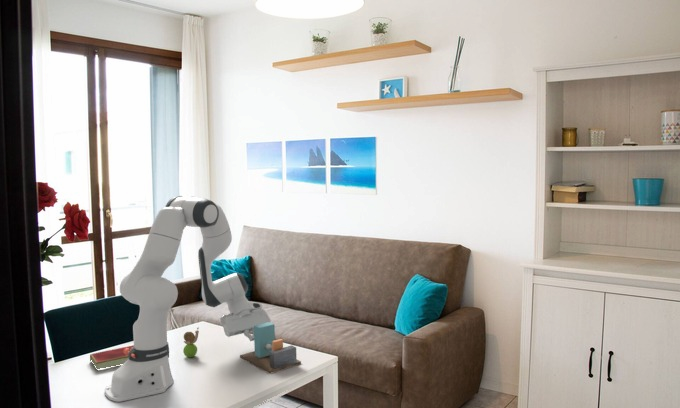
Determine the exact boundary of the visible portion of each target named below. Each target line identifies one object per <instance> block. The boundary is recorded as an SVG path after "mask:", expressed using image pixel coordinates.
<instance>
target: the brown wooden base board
mask: <svg viewBox="0 0 680 408" xmlns="http://www.w3.org/2000/svg"><path fill="white" fill-rule="evenodd" d="M239 358H240V359H242V360H244V361H246V362H248V363H249V364H252V365H253V366H255V367H257V368H259V369H261V370H263V371H264V372H266V373H268V374H272V373H277V372H279V371H280V372H281V371H283V370H285V369H290V368H291V367H295V366H299V365H301V364H302V361H301V360H299V359H297V363H294V364H291V365H287V366H284V367H281V368H278V369H275V370H274V369H273V368H271V367H270V355H269V356H266V357H262V358H259V357H257V356H255V350H253V351H249V352H247V353H243V354H240V355H239Z"/></svg>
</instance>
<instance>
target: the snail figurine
mask: <svg viewBox="0 0 680 408" xmlns="http://www.w3.org/2000/svg"><path fill="white" fill-rule="evenodd" d="M199 332H200V331H199V326H198V327H196V330H195V332H192V331H186V332H185V333H184V334H183V339H184V341H183V343H184V344H185V345H184V347H183V351H182V352H183V355H184V356H185V357H186V358H194V357H195V356H196V355H197V352H198V347H197V345H196V344H195V343H197V340H198V338H199V334H200V333H199Z"/></svg>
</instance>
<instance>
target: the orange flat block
mask: <svg viewBox="0 0 680 408" xmlns="http://www.w3.org/2000/svg"><path fill="white" fill-rule="evenodd" d="M281 348H284V340H283V339H282V338H278V339H275V341H272V351H274V350H277V349H281Z"/></svg>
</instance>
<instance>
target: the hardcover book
mask: <svg viewBox="0 0 680 408" xmlns="http://www.w3.org/2000/svg"><path fill="white" fill-rule="evenodd" d="M133 346H134V344H133V345H128V346H124V347H118V348H114V349H109V350H105V351H99V352H94V353H89V354H90V355H89V359H90V361H91V360H92V362H93V363H94V365H95V366H96V368H97V369H100V368H106V367H111V366H116V365H120V364H124V363H125V362H126V361H127V360H128V359H129V357H128V355H126V354H125V353H124V350H125V348H129V349H130V350H131V349H132V348H133ZM90 361H89V362H90ZM94 365H93V366H94ZM96 368H95V369H96Z"/></svg>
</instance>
